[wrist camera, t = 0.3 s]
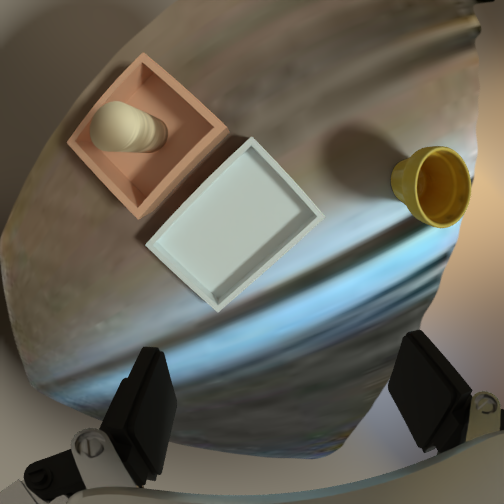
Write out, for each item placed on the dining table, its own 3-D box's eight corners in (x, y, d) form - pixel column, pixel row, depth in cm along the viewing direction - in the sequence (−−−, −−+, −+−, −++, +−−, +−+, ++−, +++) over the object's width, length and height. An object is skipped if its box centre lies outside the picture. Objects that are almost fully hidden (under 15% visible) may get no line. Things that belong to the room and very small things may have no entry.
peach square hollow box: (157, 65, 31) (143, 52, 25) (229, 132, 35) (226, 127, 29) (88, 143, 34) (66, 142, 28) (153, 211, 38) (138, 219, 32)
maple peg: (151, 110, 32) (113, 91, 21) (175, 133, 34) (144, 121, 22) (126, 137, 33) (81, 130, 22) (150, 160, 35) (110, 162, 23)
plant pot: (384, 138, 35) (421, 134, 26) (436, 157, 36) (476, 160, 26) (373, 206, 38) (407, 220, 29) (425, 219, 39) (463, 235, 29)
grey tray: (251, 138, 35) (251, 136, 33) (320, 213, 38) (325, 217, 36) (150, 240, 39) (145, 245, 37) (219, 304, 42) (217, 312, 40)
